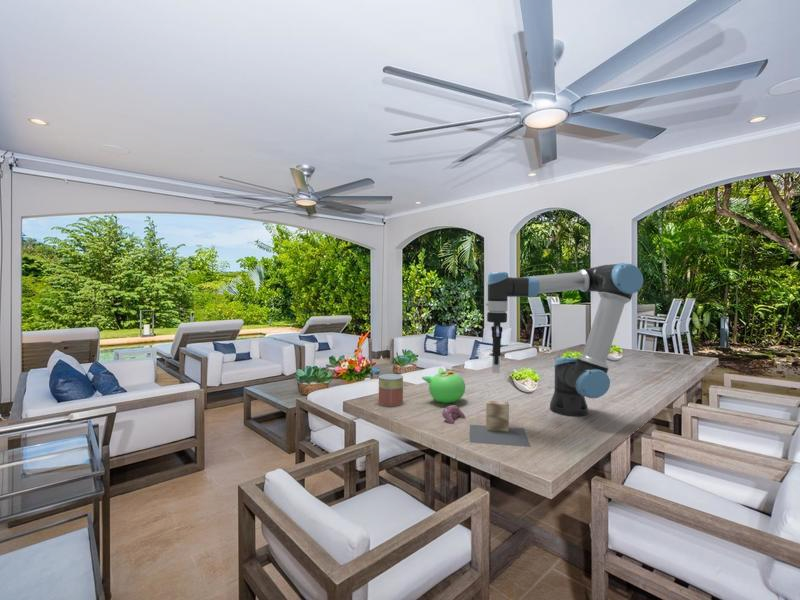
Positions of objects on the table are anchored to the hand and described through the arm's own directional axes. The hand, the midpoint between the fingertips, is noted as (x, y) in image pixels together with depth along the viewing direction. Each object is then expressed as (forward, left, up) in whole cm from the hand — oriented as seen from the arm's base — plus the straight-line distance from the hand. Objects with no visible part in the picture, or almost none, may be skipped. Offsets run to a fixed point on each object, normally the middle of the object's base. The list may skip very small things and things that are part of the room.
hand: (495, 372), depth 152 cm
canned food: (+46, -19, -21) cm, 54 cm away
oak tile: (0, +8, -20) cm, 21 cm away
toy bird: (+21, -25, -21) cm, 38 cm away
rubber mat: (0, +13, -20) cm, 24 cm away
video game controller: (+16, 0, -21) cm, 26 cm away
